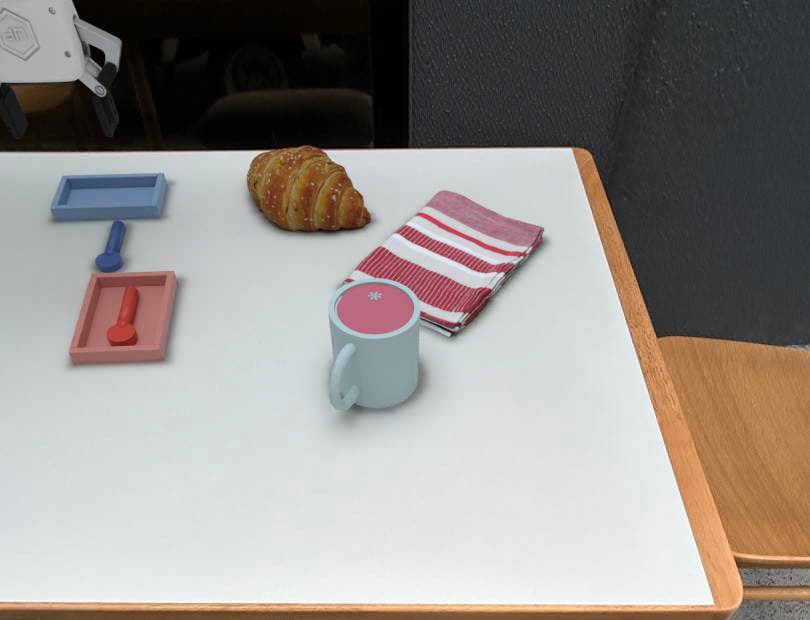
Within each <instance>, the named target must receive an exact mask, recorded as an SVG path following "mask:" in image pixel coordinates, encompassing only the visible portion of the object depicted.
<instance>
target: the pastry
mask: <svg viewBox="0 0 810 620" xmlns="http://www.w3.org/2000/svg"><path fill="white" fill-rule="evenodd" d="M246 182H247V183H246V185H247V188H248V192H249V193H250V195H251V197H252V198H253V201H254V204H255V205H256V206H255V207H257V208H258V209H259V210H260V211H262V212H263V214H264V216H265V217H266V219H268V220H269V221H270V222H271V223H273V224H277V226H278V227H280V228H281V229H284V230H286V231H289V232H296V231H299V230H302V231H306V232H317V231H319V229H322V230H325V231H332V232H333V231H337V230H339V229H341V228H345V229H355V228H361V227H363V226H365V225H366V224H368V223H370V221H371V214H370V212H369V210H368V208H367V207H366V206H365V200H364V196H363V195H362V193H361V192H360V191H359V190H357V189H356V188H355V187H354V184H353V181H352V179H351V178H350V176H349V175H348V172H347V171H346V168H345V167H344V166H343V165H342V164H338V163H337V162H335V161H334V160H332V159H331V158H330V157H329V155H328V153H327V152H326V151H324V150H323V149H321V148H318V147H314V146H311V145H305V144H304V145H301V146H299V147H283V148H281V149H273V150H272V149H270V150H269V151H264V152H262V153H259V154H257V155H256V156H255V157H253V160H252V161H251V163H250V165H249V169H248V171H247V174H246Z"/></svg>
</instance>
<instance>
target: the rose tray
mask: <svg viewBox="0 0 810 620" xmlns="http://www.w3.org/2000/svg"><path fill="white" fill-rule="evenodd" d="M178 284H179V282H178V279H177V276H176V274H175V271H174V270H158V271H155V270H154V271H128V272H127V271H126V272H125V271H124V272H111V273H105V272H99V273H98V272H97V273H94V272H93V273H91V274H90V277H89V281H88V284H87V288H86V291H85V293H84V294H85V295H84V298H83V301H82V305H81V308H80V312H79V316H78V318H77V323H76V326H75V329H74V333H73V335H72V339H71V343H70V346H69V350H68V355H69V356H70V358H71V360H72V362H73V364H74V365H94V364H119V363H120V364H122V363H123V364H124V363H148V362H164V361H165V356H166V351H167V346H168V340H169V334H170V330H171V329H170V328H171V322H172V317H173V312H174V305H175V300H176V296H177V290H178ZM128 286H134V287H136V288H137V289H138V291H139V296H138V300H137V305H136V309H135V314H134V318H133V322H132V326H133V327H134V328H135V331H136V333H137V335H138V341H137V343H136V344H135V345H134V346H111V345H110V342H109V340H108V338H107V336H106V333H107V331H108V329H109V328H110V327H112V326H113V325H115V324H117V320H118V316H119V312H120V308H121V304H122V300H123V296H124V291H125V289H126V287H128Z"/></svg>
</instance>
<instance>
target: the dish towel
mask: <svg viewBox="0 0 810 620" xmlns="http://www.w3.org/2000/svg"><path fill="white" fill-rule="evenodd" d="M544 232H545V227H543V226H541V225H536V224H533V223H529V222H525V221H521V220H518V219H515V218H511V217H507V216H504V215H502V214H500V213H498V212H496V211H494V210H492V209H488V208H487V207H485V206H483V205H481V204H479V203H478V202H475V201H474V200H472V199H470V198H469V197H467V196H465V195H463V194H460V193H459V192H455V191H451V190H447V189H442V190H439V191H438V192H437V193H435V195H434V196H433V197H432V198H431V199H430V200H429V201H427V203H426V204H425V205H424V206H423V208H422V209H420V210H419V211H418V212H417V213H416V214H415V215H413V216H412V217H411V218H410V220H408V221H407V222H406V223H405V224H404V225H401V226H400V227H399V228H398V229H397V230H396V231H395V232H393V234H392V235H390V236H389V237H388V238H387V239H386V240H384V241H383V242H382V243H381V244H380V245H379V246H377V247H376V248H375V249H373V251H372V252H370V253H369V254H368V255H367V256H366V257H364V258H363V260H361V262H360V263H359V264H358V265H357V266H356V268H355V269H354V270H353V271H352V272H351V274H350V275H348V277H346V278H345V280H344V281H342V284H341V287H342V286H344V285H346V284H348V283H350V282H353V281H356V280H361V279H367V278H382V279H388V280H392V281H396V282H398V283H401V284H403V285H404V286H406V287H408V288H409V289H410V290H411V291H413V293H414V294H415V295H416V296H417V298H418V300H419V303H420V326H423V327H425V328H427V329H430V330H432V331H434V332H437V333H438V334H441V335H443V336H444V337H447V338H451V336H454V335H455V334H457V333H459V332H460V331H461V330H462V329H464V328H465V327H467V326H468V325H469V324H470V323H471V322H472V321H473V319H475V318H476V316H477V315H479V313H481V311H482V310H483V309H484V308H485V306H486V305H487V304H488V302H489V301H490V299H491V298H492V297H493V296H494V295H495V294H496V293H497V291H499V290H500V289H501V288H502V287H503V286H504V285H505V283H506V282H508V280H509V279H510V277H512V275H513V274H514V273H515V272H516V271H517V269H519V267H521V265H522V264H523V263H524V262H525V261H526V260H527V259H528V258H529V257H530V255H531V254H532V253H533V252H534V251H535V250H536V249H538V248H540V246H541V245H543V243H544V237H543V235H544Z"/></svg>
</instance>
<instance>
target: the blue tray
mask: <svg viewBox="0 0 810 620" xmlns="http://www.w3.org/2000/svg"><path fill="white" fill-rule="evenodd" d="M167 189H168V182H167V180H166V175H165V173H164V172H148V173H147V172H145V173H144V172H143V173H141V172H140V173H107V174H106V173H105V174H72V175H71V174H70V175H67V174H66V175H61V178H60V181H59V183H58V186H57V188H56V191H55V194H54V197H53V199H52V203H51V205H50V207H49V210H50V212H51V214H52V216H53V218H54V221H56V222H59V221H91V220H94V221H95V220H127V219H128V220H130V219H157V218H158V219H159V218H161V216H162V211H163V205H164V202H165V197H166V193H167Z"/></svg>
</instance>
